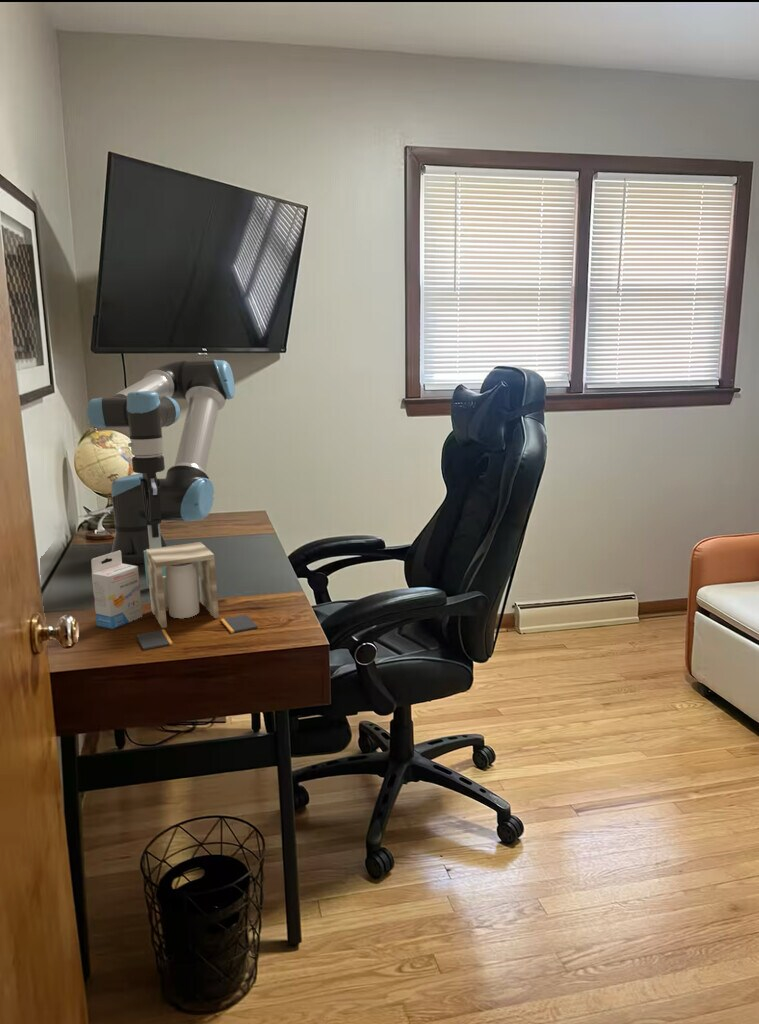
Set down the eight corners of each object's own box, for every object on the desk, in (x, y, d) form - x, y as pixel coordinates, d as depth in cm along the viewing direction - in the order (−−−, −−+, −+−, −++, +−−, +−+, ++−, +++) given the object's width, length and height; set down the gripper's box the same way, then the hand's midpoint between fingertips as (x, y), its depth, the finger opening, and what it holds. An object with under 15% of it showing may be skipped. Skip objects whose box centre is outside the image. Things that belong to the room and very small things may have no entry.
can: (179, 608, 168) (175, 556, 165) (205, 610, 166) (201, 558, 163) (163, 618, 162) (158, 565, 159) (189, 620, 160) (185, 567, 157)
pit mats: (136, 636, 152) (136, 634, 152) (246, 616, 162) (246, 614, 162) (143, 650, 145) (143, 648, 145) (257, 628, 155) (257, 626, 155)
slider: (146, 586, 182) (143, 550, 180) (180, 581, 185) (177, 546, 183) (162, 609, 166) (158, 570, 164) (198, 603, 169) (195, 565, 167)
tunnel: (151, 610, 166) (145, 549, 163) (205, 601, 172) (200, 541, 168) (162, 628, 156) (156, 562, 153) (218, 617, 161) (214, 554, 158)
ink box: (113, 630, 156) (105, 562, 152) (96, 626, 158) (88, 559, 155) (143, 616, 163) (137, 551, 160) (127, 613, 165) (120, 549, 162)
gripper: (127, 453, 186) (135, 545, 191) (136, 459, 175) (144, 557, 180) (158, 451, 189) (165, 541, 194) (168, 457, 178) (176, 552, 183)
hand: (155, 549), depth 187 cm, fingers closed
